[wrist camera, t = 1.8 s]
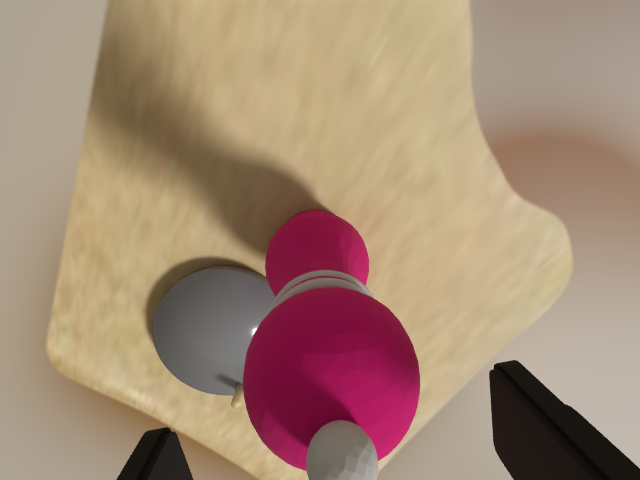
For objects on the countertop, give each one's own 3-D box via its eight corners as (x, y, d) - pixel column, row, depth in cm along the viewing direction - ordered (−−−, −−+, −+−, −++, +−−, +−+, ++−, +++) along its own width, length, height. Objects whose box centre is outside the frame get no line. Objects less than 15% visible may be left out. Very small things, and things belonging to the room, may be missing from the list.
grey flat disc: (139, 280, 26) (117, 296, 23) (279, 253, 26) (276, 266, 23) (182, 396, 29) (168, 424, 26) (307, 372, 29) (308, 397, 26)
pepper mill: (280, 292, 27) (224, 629, 8) (263, 211, 25) (132, 392, 6) (362, 278, 27) (506, 578, 8) (351, 196, 25) (507, 327, 6)
